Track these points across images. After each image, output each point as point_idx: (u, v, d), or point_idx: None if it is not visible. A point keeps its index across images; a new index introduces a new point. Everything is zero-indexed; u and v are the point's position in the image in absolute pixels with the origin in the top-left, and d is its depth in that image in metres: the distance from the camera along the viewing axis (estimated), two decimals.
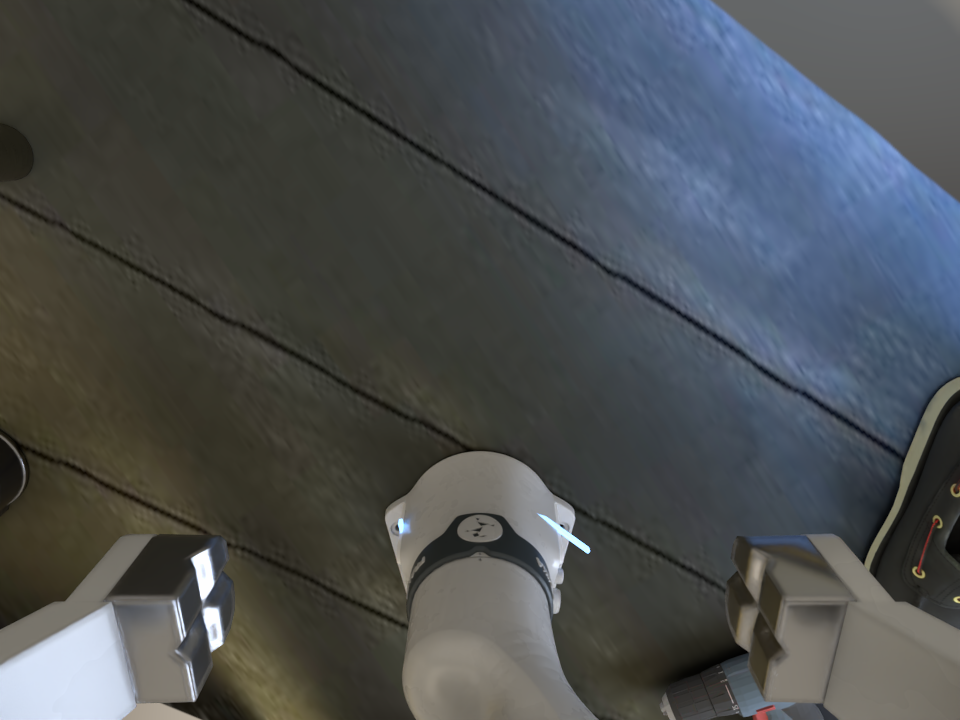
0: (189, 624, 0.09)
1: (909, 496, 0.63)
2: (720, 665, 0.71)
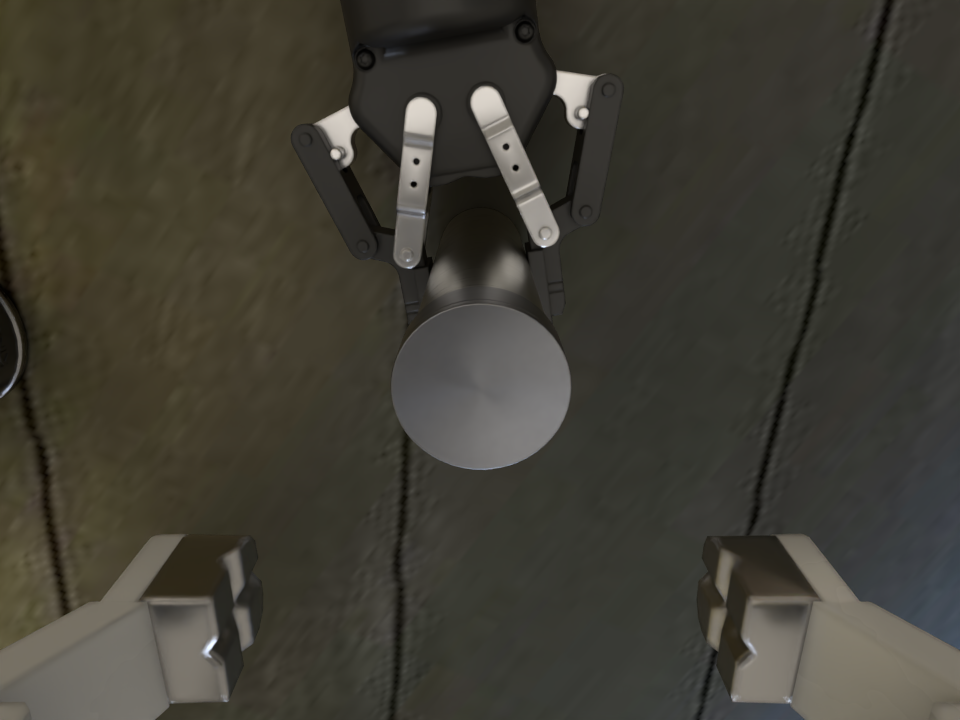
0: (222, 624, 0.09)
1: None
2: None
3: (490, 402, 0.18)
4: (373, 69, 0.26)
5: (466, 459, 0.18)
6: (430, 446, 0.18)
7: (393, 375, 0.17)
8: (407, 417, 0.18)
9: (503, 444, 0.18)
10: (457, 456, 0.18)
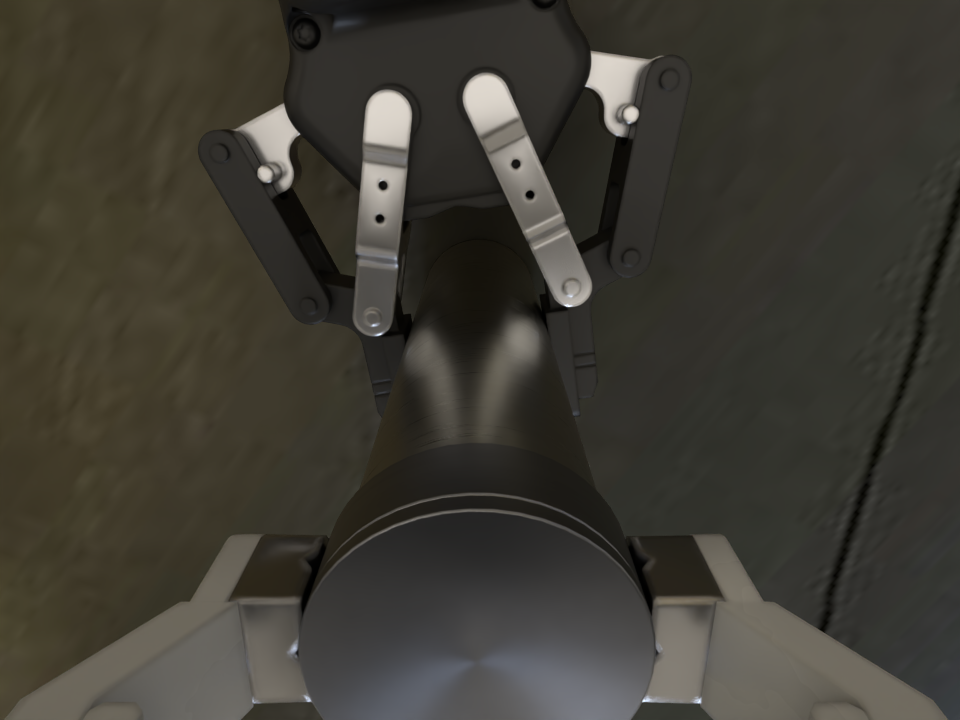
0: None
1: None
2: None
3: (495, 682, 0.09)
4: (317, 48, 0.17)
5: None
6: None
7: (302, 636, 0.09)
8: (333, 706, 0.09)
9: None
10: None
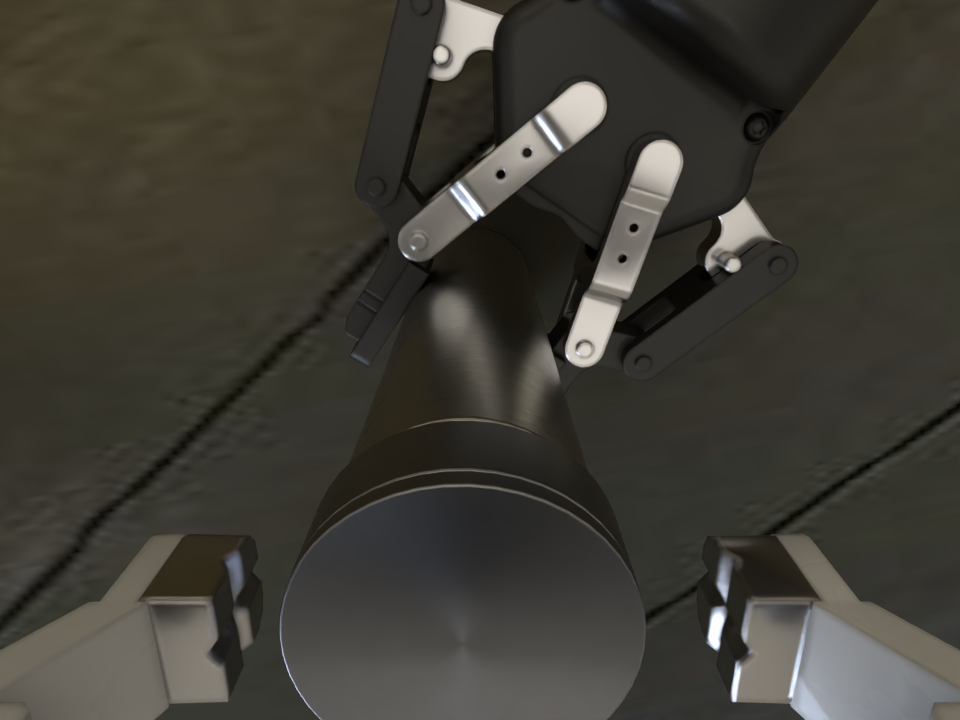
0: (222, 624, 0.09)
1: None
2: None
3: (494, 650, 0.09)
4: (571, 4, 0.17)
5: None
6: None
7: (314, 708, 0.09)
8: None
9: (573, 693, 0.09)
10: None
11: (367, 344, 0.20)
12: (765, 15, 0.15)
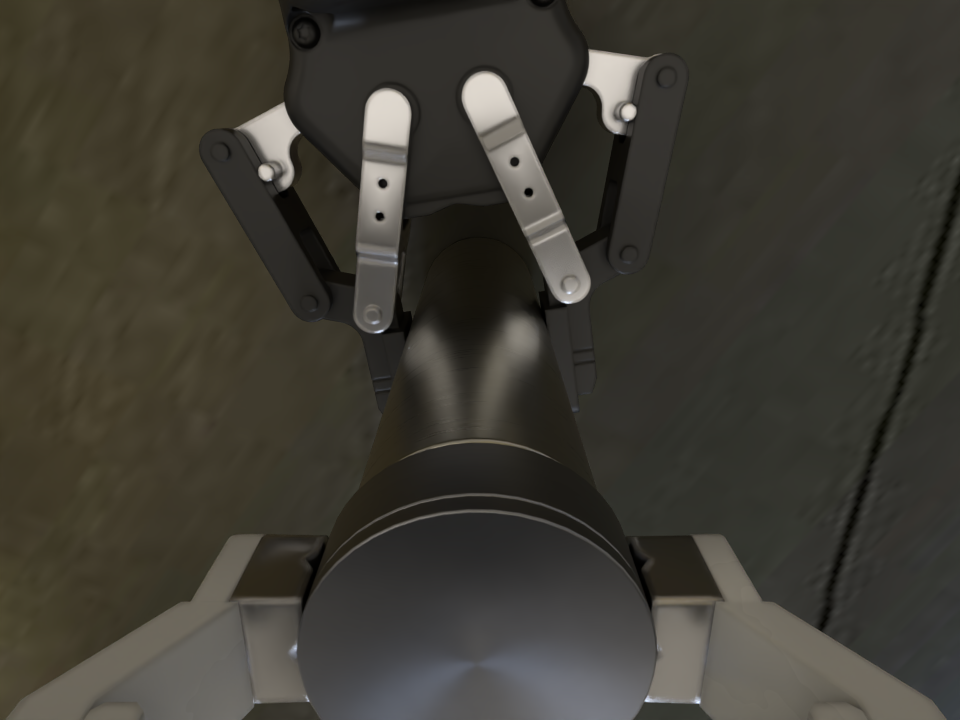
0: None
1: None
2: None
3: (505, 652, 0.09)
4: (317, 47, 0.17)
5: (622, 703, 0.09)
6: None
7: None
8: None
9: (603, 642, 0.09)
10: (612, 715, 0.09)
11: None
12: None
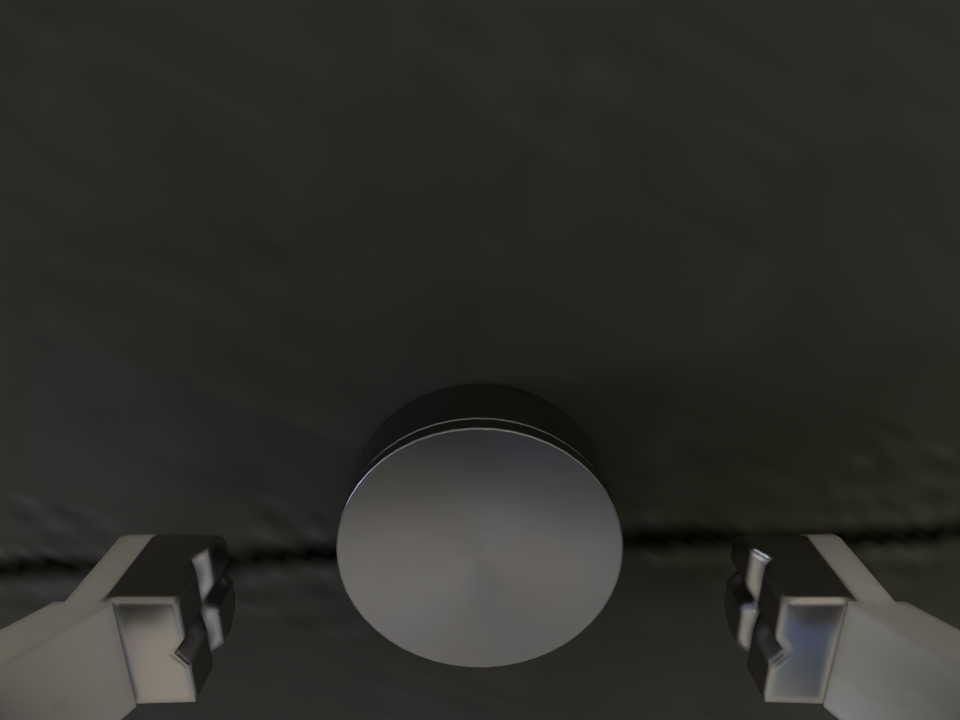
0: (189, 624, 0.09)
1: None
2: None
3: (502, 547, 0.11)
4: None
5: (596, 590, 0.11)
6: (562, 633, 0.12)
7: (438, 660, 0.12)
8: (508, 654, 0.12)
9: (580, 538, 0.11)
10: (588, 601, 0.11)
11: None
12: None
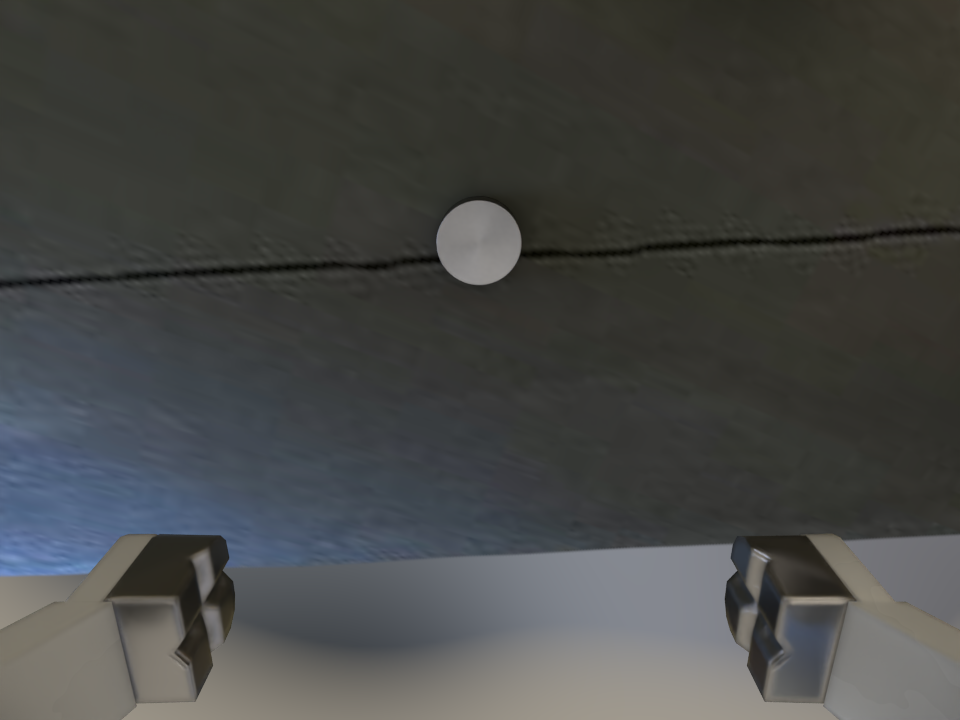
0: (189, 624, 0.09)
1: None
2: None
3: (485, 240, 0.37)
4: None
5: (514, 255, 0.37)
6: (504, 271, 0.38)
7: (466, 282, 0.38)
8: (488, 279, 0.38)
9: (508, 236, 0.37)
10: (511, 259, 0.37)
11: None
12: None
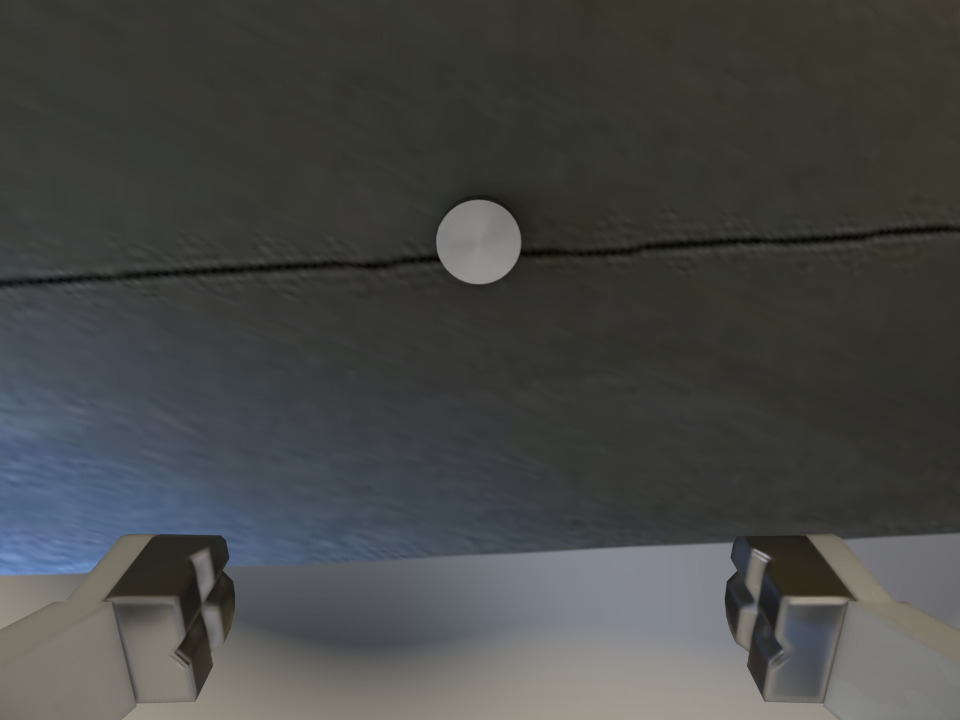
0: (189, 624, 0.09)
1: None
2: None
3: (485, 239, 0.37)
4: None
5: (514, 254, 0.37)
6: (504, 270, 0.38)
7: (466, 281, 0.38)
8: (487, 279, 0.38)
9: (508, 236, 0.37)
10: (511, 259, 0.37)
11: None
12: None
